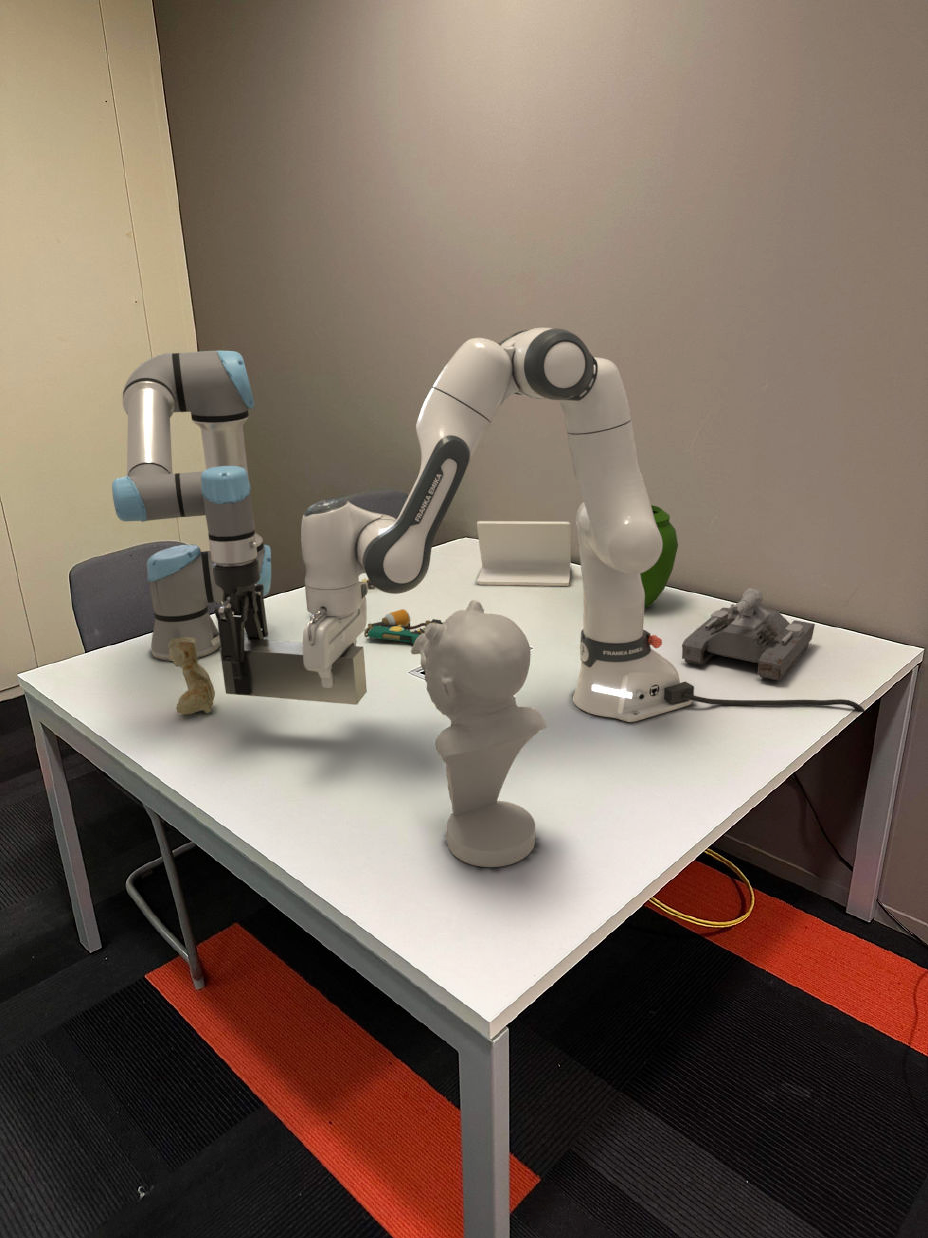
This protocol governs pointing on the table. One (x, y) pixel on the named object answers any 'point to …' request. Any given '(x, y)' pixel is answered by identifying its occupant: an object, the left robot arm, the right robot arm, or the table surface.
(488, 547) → the tablet stand
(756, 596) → the toy
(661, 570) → the vase
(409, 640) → the spray gun
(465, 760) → the bust sculpture
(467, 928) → the table surface
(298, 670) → the bar
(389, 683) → the table surface
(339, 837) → the table surface
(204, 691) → the sculpture
